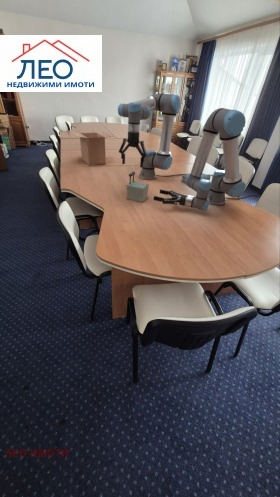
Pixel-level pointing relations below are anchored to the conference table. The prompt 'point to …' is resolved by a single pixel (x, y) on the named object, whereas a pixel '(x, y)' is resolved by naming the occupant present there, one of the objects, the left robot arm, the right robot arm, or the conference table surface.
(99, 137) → the box
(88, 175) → the conference table surface
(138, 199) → the chest
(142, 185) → the lid
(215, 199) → the right robot arm
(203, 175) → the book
